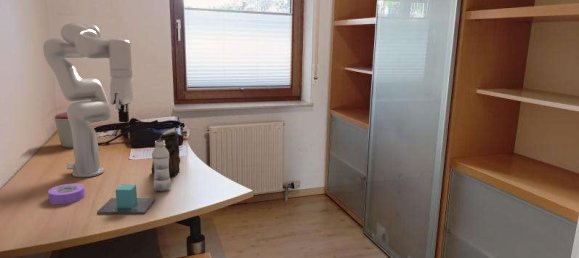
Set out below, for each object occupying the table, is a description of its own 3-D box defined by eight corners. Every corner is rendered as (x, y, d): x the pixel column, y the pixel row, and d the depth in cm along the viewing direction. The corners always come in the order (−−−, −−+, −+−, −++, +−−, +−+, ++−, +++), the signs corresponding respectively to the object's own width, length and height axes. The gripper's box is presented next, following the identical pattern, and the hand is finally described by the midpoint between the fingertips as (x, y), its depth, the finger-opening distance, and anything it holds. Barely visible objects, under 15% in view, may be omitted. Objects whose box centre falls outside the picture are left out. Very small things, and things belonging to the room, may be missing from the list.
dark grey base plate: (97, 214, 136) (95, 196, 134) (111, 200, 147) (110, 183, 146) (144, 214, 136) (143, 196, 135) (155, 200, 148) (154, 184, 147)
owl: (178, 168, 185) (176, 125, 180) (188, 176, 174) (186, 131, 170) (150, 172, 178) (148, 128, 173) (158, 181, 167) (156, 134, 163)
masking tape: (76, 190, 157) (75, 181, 156) (90, 198, 150) (89, 188, 149) (44, 199, 148) (42, 189, 147) (57, 207, 141) (55, 197, 140)
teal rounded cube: (117, 207, 139) (115, 189, 138) (122, 201, 144) (121, 184, 143) (132, 207, 139) (130, 189, 138) (137, 201, 144) (135, 184, 143)
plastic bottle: (162, 194, 153) (159, 144, 149) (150, 190, 157) (147, 141, 152) (175, 189, 159) (172, 140, 154) (163, 186, 162) (160, 138, 158)
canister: (83, 150, 211) (79, 111, 206) (49, 149, 211) (44, 110, 206) (99, 141, 229) (96, 105, 224) (68, 141, 229) (64, 104, 224)
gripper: (119, 70, 155) (122, 117, 159) (101, 75, 140) (105, 125, 145) (138, 71, 155) (140, 117, 159) (123, 76, 141) (126, 126, 145)
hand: (124, 121), depth 152 cm, fingers closed
